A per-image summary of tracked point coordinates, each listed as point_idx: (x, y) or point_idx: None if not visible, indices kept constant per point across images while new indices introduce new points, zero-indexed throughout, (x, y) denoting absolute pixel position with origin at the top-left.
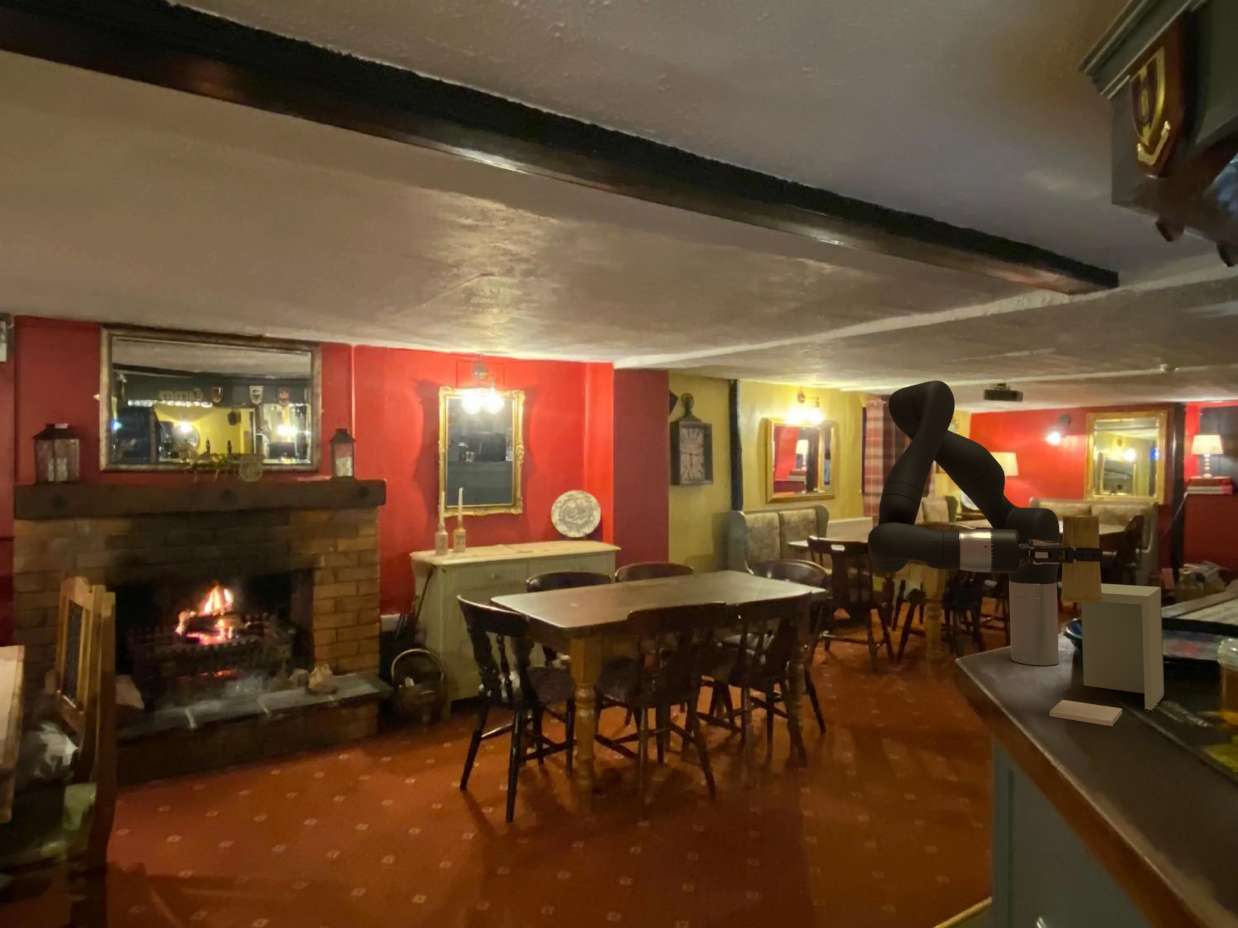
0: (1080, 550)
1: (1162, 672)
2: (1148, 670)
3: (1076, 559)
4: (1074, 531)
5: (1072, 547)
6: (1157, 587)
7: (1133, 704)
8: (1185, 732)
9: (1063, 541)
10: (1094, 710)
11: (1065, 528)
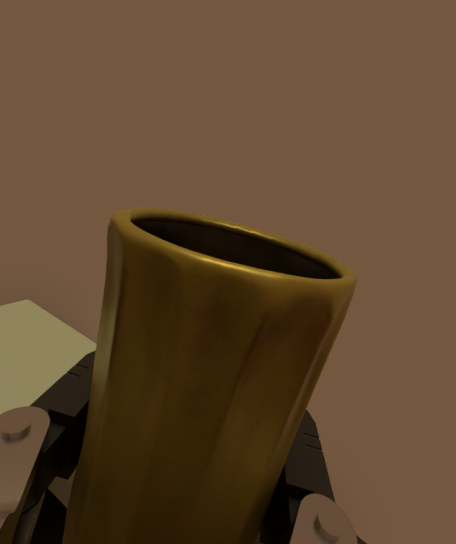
0: (322, 488)
1: None
2: None
3: (269, 539)
4: (302, 392)
5: (355, 537)
6: (27, 303)
7: (53, 540)
8: None
9: (170, 497)
10: None
11: (244, 399)
